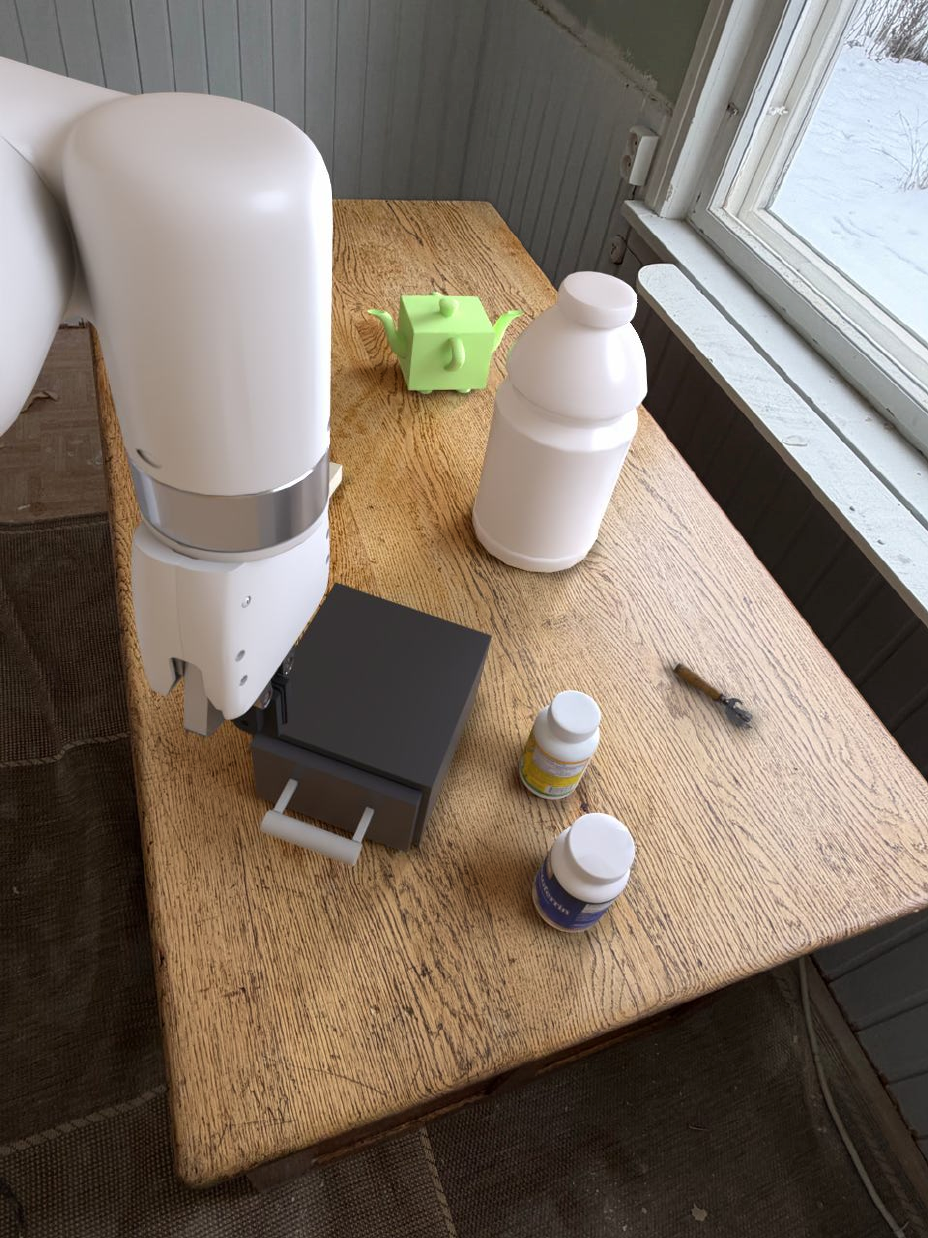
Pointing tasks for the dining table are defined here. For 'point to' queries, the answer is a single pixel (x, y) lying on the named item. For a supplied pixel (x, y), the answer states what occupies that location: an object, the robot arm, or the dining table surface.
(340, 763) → the cabinet drawer
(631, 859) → the pill bottle
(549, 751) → the supplement bottle
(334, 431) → the dining table surface
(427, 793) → the small drawer cabinet
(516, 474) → the bottle
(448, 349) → the teapot
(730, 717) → the can opener
